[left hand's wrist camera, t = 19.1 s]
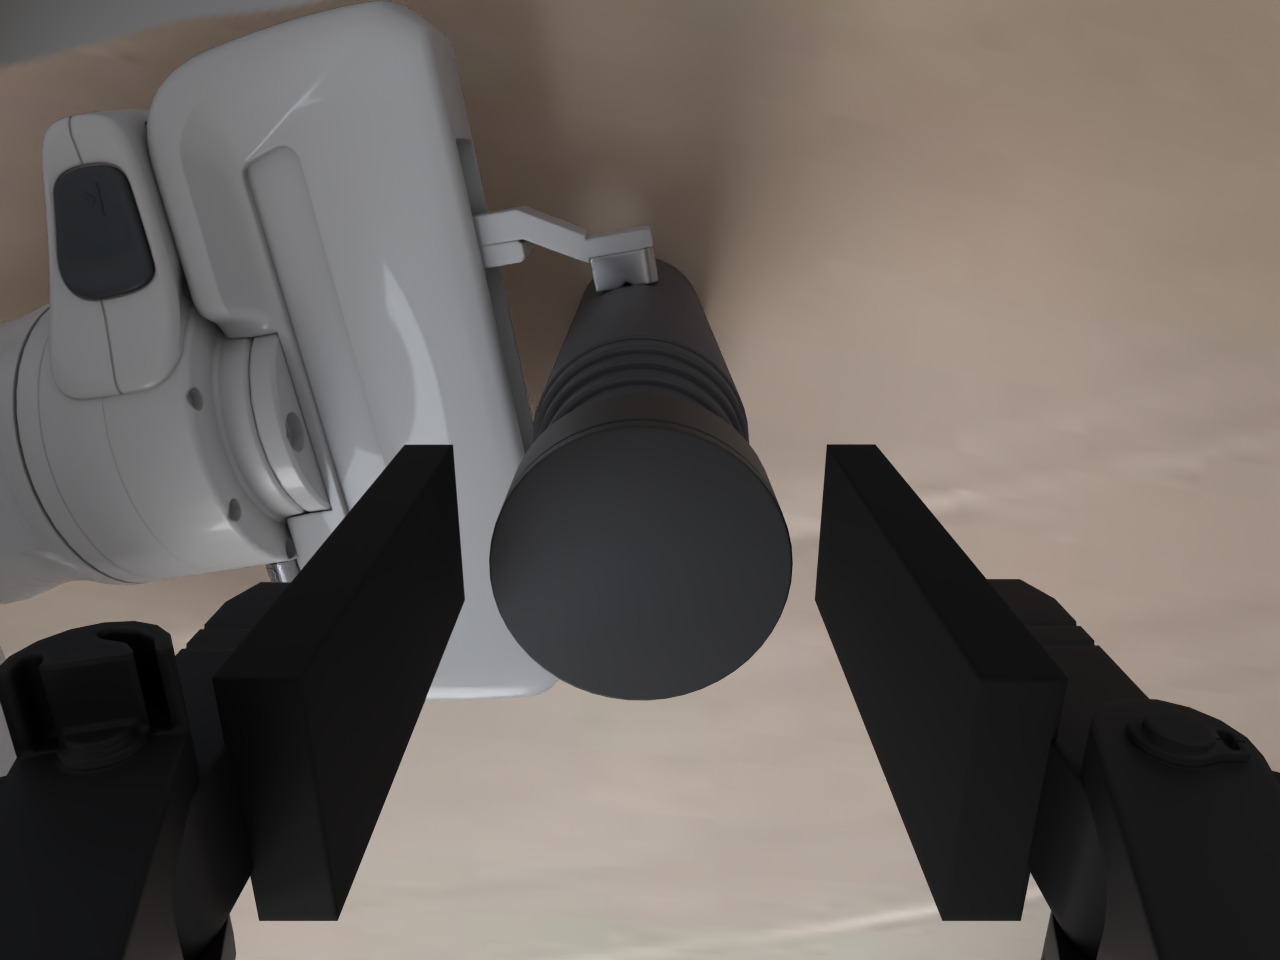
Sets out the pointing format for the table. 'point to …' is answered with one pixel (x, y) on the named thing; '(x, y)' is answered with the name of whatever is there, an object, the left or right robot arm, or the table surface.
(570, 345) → the bottle
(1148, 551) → the table surface
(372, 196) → the right robot arm
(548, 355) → the table surface
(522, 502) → the cap
